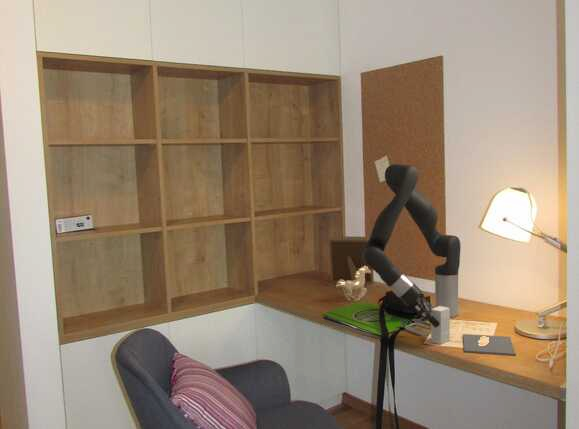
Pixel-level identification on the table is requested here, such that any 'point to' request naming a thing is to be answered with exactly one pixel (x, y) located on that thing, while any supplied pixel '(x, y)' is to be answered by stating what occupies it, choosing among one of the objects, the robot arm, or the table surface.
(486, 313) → the table surface
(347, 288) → the unicorn
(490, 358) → the table surface
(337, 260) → the photo frame
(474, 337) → the charcoal mat
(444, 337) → the skincare box
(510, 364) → the table surface
